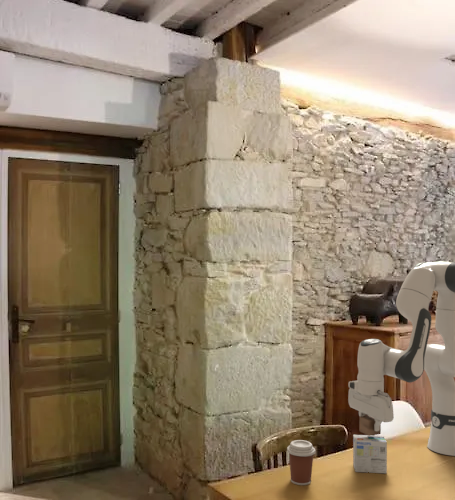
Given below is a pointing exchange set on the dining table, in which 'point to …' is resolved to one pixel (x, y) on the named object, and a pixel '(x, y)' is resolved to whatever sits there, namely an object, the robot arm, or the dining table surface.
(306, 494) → the dining table surface
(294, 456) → the coffee cup
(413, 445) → the dining table surface
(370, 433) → the walnut cube
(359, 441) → the light bulb box
